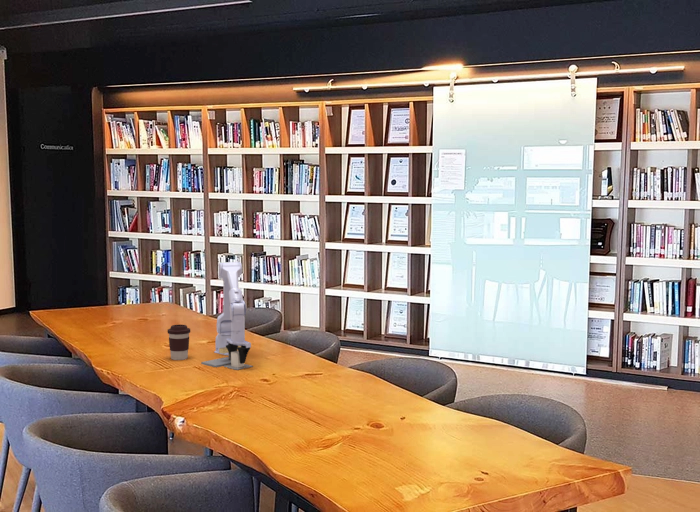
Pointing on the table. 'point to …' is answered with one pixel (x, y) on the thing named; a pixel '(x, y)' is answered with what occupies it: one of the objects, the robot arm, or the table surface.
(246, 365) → the mat
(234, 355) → the white rectangular block
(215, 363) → the panel
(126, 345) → the table surface
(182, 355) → the coffee cup
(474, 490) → the table surface
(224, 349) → the tan rectangular bar
